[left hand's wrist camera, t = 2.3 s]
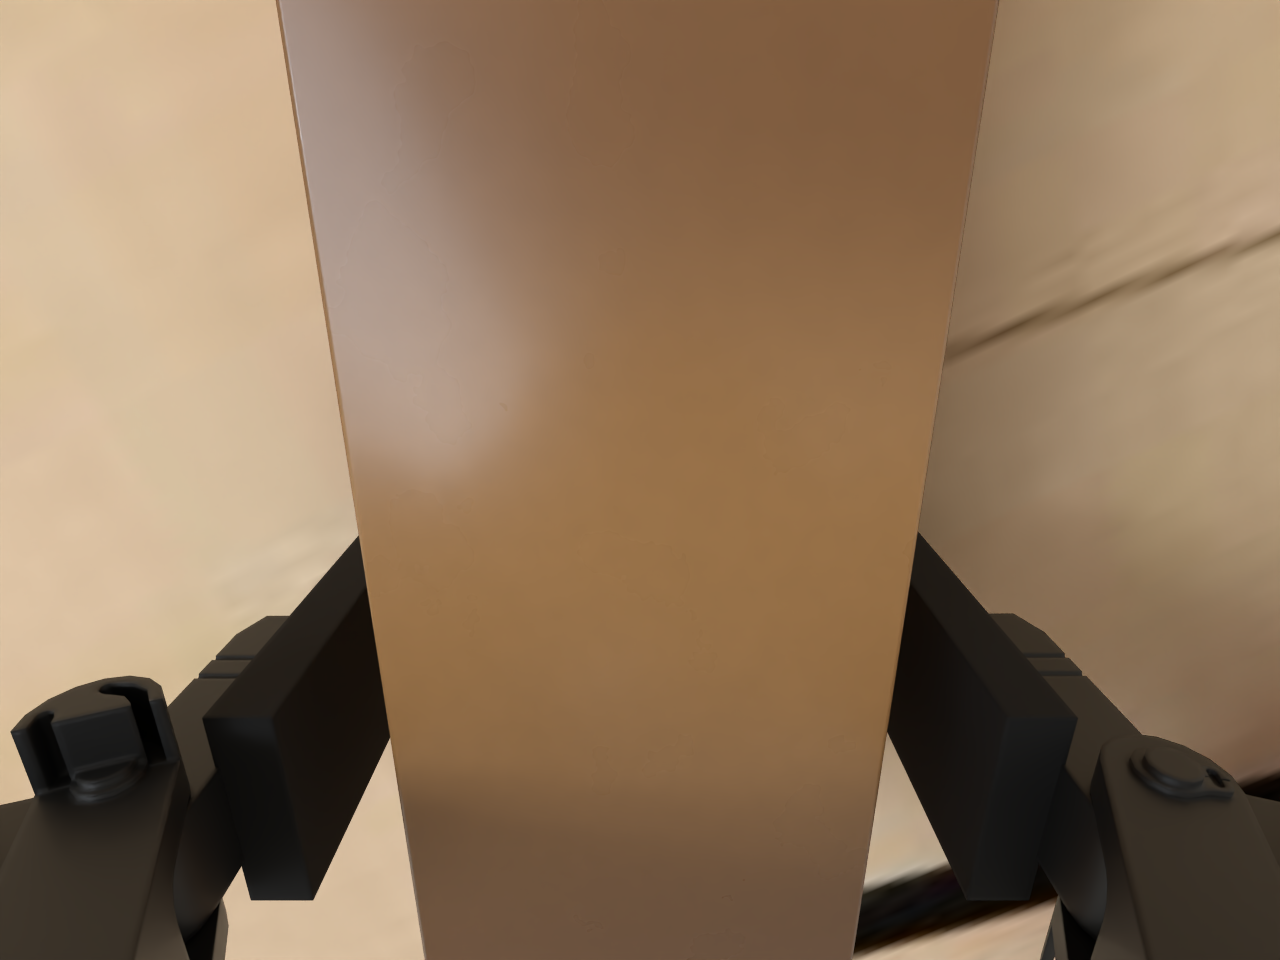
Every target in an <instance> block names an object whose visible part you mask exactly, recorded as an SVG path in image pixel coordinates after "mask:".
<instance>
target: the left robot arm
mask: <svg viewBox="0 0 1280 960" xmlns="http://www.w3.org/2000/svg"><path fill="white" fill-rule="evenodd" d="M887 732H888V734H889V737H890V739H891V741H892V743H893V745H894V747H895V749H896V751H897V754H898V756H899V758H900V760H901V762H902V764H903V766H904V768H905V770H906V773H907V775H908V777H909V779H910V781H911V783H912V785H913V787H914V790H915V792H916V794H917V796H918V798H919V800H920V802H921V804H922V806H923V809H924V811H925V813H926V815H927V817H928V819H929V821H930V823H931V826H932V828H933V830H934V832H935V834H936V836H937V838H938V840H939V842H940V845H941V847H942V849H943V851H944V853H945V855H946V857H947V859H948V862H949V864H950V866H951V868H952V870H953V872H954V874H955V876H956V878H957V881H958V883H959V885H960V887H961V889H962V891H963V893H964V895H965V898H966V900H1029V898H1030V895H1031V891H1032V887H1033V884H1034V880H1035V876H1036V872H1037V869H1038V865H1039V864H1040V866H1041V867H1042V869H1043V871H1044V872H1045V874H1046V875H1047V877H1048V879H1049V880H1050V882H1051V884H1052V885H1053V887H1054V889H1055V890H1056V892H1057V894H1058V898H1057V902H1056V905H1055V909H1054V912H1053V916H1052V919H1051V922H1050V926H1049V929H1048V933H1047V936H1046V940H1045V943H1044V947H1043V950H1042V954H1041V959H1040V960H1053V959H1054V957H1055V959H1056V960H1280V802H1277V801H1273V800H1268V799H1264V798H1259V797H1254V796H1250V795H1246V794H1245V793H1244V792H1243V790H1242V789H1241V788H1240V786H1239V785H1238V784H1237V783H1236V781H1235V780H1234V779H1233V777H1232V776H1231V775H1230V774H1228V773H1227V772H1226V771H1224V770H1223V769H1222V768H1221V767H1219V766H1218V765H1217V764H1215V763H1214V762H1213V761H1212V760H1210V759H1208V758H1207V757H1205V756H1203V755H1201V754H1199V753H1197V752H1195V751H1193V750H1191V749H1189V748H1187V747H1185V746H1183V745H1180V744H1177V743H1174V742H1171V741H1168V740H1165V739H1162V738H1159V737H1154V736H1146V735H1142V734H1141V733H1140V732H1139V731H1138V730H1137V729H1136V728H1135V727H1134V726H1133V725H1132V724H1131V723H1130V722H1129V720H1128V719H1127V718H1126V717H1125V716H1124V715H1123V714H1122V713H1121V712H1120V711H1119V710H1118V709H1117V708H1116V707H1115V706H1114V705H1113V704H1112V703H1111V702H1110V701H1109V700H1108V698H1107V697H1106V696H1105V695H1104V694H1103V693H1102V692H1101V691H1100V690H1099V689H1098V688H1097V687H1096V686H1095V685H1094V684H1093V683H1092V682H1091V681H1090V680H1089V679H1088V677H1087V676H1082V671H1081V670H1080V669H1079V668H1078V667H1077V666H1076V665H1075V664H1074V663H1073V662H1072V661H1071V660H1070V659H1069V658H1065V653H1064V652H1063V651H1062V650H1061V649H1060V648H1059V647H1058V646H1057V645H1056V644H1055V643H1054V642H1053V641H1052V640H1051V639H1050V638H1049V637H1048V636H1047V635H1046V633H1045V632H1043V631H1042V630H1040V629H1038V628H1037V627H1035V626H1033V625H1032V624H1030V623H1028V622H1027V621H1025V620H1023V619H1022V618H1020V617H1018V616H1016V615H1015V614H988V613H987V611H986V610H985V609H984V608H983V607H982V606H981V604H980V603H979V602H978V601H977V600H976V599H975V597H974V596H973V595H972V594H971V593H970V592H969V590H968V589H967V588H966V587H965V586H964V585H963V583H962V582H961V581H960V580H959V579H958V578H957V576H956V575H955V574H954V573H953V572H952V571H951V569H950V568H949V567H948V566H947V565H946V564H945V563H944V561H943V560H942V559H941V558H940V557H939V556H938V554H937V553H936V552H935V551H934V550H933V549H932V547H931V546H930V545H929V544H928V543H927V542H926V540H925V539H924V538H923V537H922V536H921V535H920V533H919V532H918V533H917V539H916V546H915V552H914V559H913V565H912V572H911V579H910V585H909V592H908V598H907V605H906V611H905V618H904V624H903V631H902V637H901V644H900V650H899V657H898V663H897V670H896V676H895V683H894V690H893V696H892V703H891V709H890V716H889V722H888V729H887ZM11 734H12V737H13V739H14V742H15V745H16V747H17V750H18V752H19V755H20V757H21V760H22V762H23V765H24V768H25V770H26V773H27V775H28V778H29V780H30V783H31V786H32V788H33V791H34V793H35V796H34V798H31V799H27V800H22V801H17V802H13V803H8V804H4V805H0V960H225V952H226V943H227V934H228V920H227V913H226V909H225V905H224V902H223V898H222V897H223V896H224V894H225V892H226V891H227V889H228V887H229V886H230V884H231V882H232V881H233V879H234V878H235V876H236V874H237V873H238V871H239V869H240V868H241V866H242V869H243V873H244V876H245V880H246V884H247V887H248V891H249V895H250V898H251V900H314V897H315V895H316V893H317V891H318V889H319V887H320V885H321V883H322V881H323V878H324V876H325V874H326V872H327V870H328V868H329V866H330V864H331V861H332V859H333V857H334V855H335V853H336V851H337V849H338V847H339V845H340V842H341V840H342V838H343V836H344V834H345V832H346V830H347V828H348V825H349V823H350V821H351V819H352V817H353V815H354V813H355V811H356V809H357V806H358V804H359V802H360V800H361V798H362V796H363V794H364V792H365V789H366V787H367V785H368V783H369V781H370V779H371V777H372V775H373V773H374V770H375V768H376V766H377V764H378V762H379V760H380V758H381V756H382V754H383V751H384V749H385V747H386V745H387V743H388V741H389V739H390V732H389V726H388V719H387V713H386V706H385V700H384V693H383V687H382V681H381V674H380V668H379V661H378V655H377V648H376V642H375V635H374V629H373V623H372V616H371V610H370V603H369V597H368V590H367V584H366V578H365V571H364V565H363V558H362V552H361V545H360V539H359V536H358V537H357V538H356V539H355V540H354V542H353V543H352V544H351V545H350V546H349V547H348V549H347V550H346V551H345V552H344V553H343V554H342V556H341V557H340V558H339V559H338V560H337V561H336V562H335V564H334V565H333V566H332V567H331V568H330V569H329V571H328V572H327V573H326V574H325V575H324V576H323V578H322V579H321V580H320V581H319V582H318V583H317V585H316V586H315V587H314V588H313V589H312V590H311V592H310V593H309V594H308V595H307V596H306V597H305V599H304V600H303V601H302V602H301V603H300V604H299V606H298V607H297V608H296V609H295V610H294V611H293V613H292V614H291V615H290V616H266V617H264V618H263V619H261V620H260V621H258V622H256V623H255V624H253V625H251V626H250V627H248V628H246V629H245V630H243V631H241V632H240V633H238V634H236V635H235V636H234V637H233V639H232V640H231V641H230V642H229V643H228V644H227V645H226V646H225V647H224V648H223V649H222V650H221V651H220V652H219V653H218V654H217V655H216V660H212V661H211V662H210V663H209V664H208V665H207V666H206V667H205V668H204V669H203V670H202V671H201V672H200V673H199V678H198V679H194V680H193V681H192V682H191V683H190V684H189V685H188V686H187V687H186V688H185V689H184V690H183V691H182V692H181V693H180V694H179V696H178V697H177V698H176V699H175V700H174V701H173V702H172V703H171V704H170V705H169V706H168V707H167V704H166V701H165V698H164V694H163V691H162V687H161V686H160V685H159V684H157V683H156V682H155V681H153V680H152V679H150V678H144V677H136V676H124V677H115V678H107V679H102V680H98V681H95V682H91V683H88V684H85V685H81V686H78V687H75V688H73V689H70V690H68V691H66V692H64V693H62V694H59V695H57V696H55V697H53V698H51V699H48V700H47V701H45V702H44V703H42V704H41V705H39V706H38V707H36V708H35V709H34V710H32V711H31V712H29V713H28V714H26V715H25V716H24V717H23V718H22V719H21V720H20V721H19V723H18V724H17V725H16V726H15V727H14V728H13V729H12V730H11Z"/></svg>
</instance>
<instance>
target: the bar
mask: <svg viewBox="0 0 1280 960" xmlns="http://www.w3.org/2000/svg"><path fill="white" fill-rule="evenodd" d="M998 4H999V0H276V5H277V11H278V18H279V24H280V31H281V37H282V43H283V50H284V56H285V63H286V69H287V76H288V82H289V88H290V95H291V101H292V108H293V114H294V121H295V127H296V134H297V140H298V146H299V153H300V159H301V166H302V172H303V179H304V185H305V191H306V198H307V204H308V211H309V217H310V224H311V230H312V236H313V243H314V249H315V256H316V262H317V269H318V275H319V282H320V288H321V294H322V301H323V307H324V314H325V320H326V327H327V333H328V339H329V346H330V352H331V359H332V365H333V372H334V378H335V385H336V391H337V397H338V404H339V410H340V417H341V423H342V430H343V436H344V442H345V449H346V455H347V462H348V468H349V475H350V481H351V487H352V494H353V500H354V507H355V513H356V520H357V526H358V533H359V539H360V545H361V552H362V558H363V565H364V571H365V578H366V584H367V590H368V597H369V603H370V610H371V616H372V623H373V629H374V635H375V642H376V648H377V655H378V661H379V668H380V674H381V681H382V687H383V693H384V700H385V706H386V713H387V719H388V726H389V732H390V738H391V745H392V751H393V758H394V764H395V771H396V777H397V783H398V790H399V796H400V803H401V809H402V816H403V822H404V829H405V835H406V841H407V848H408V854H409V861H410V867H411V874H412V880H413V886H414V893H415V899H416V906H417V912H418V919H419V925H420V931H421V938H422V944H423V951H424V957H425V960H852V957H853V951H854V944H855V938H856V931H857V925H858V918H859V911H860V905H861V898H862V892H863V885H864V879H865V872H866V866H867V859H868V853H869V846H870V840H871V833H872V827H873V820H874V814H875V807H876V801H877V794H878V787H879V781H880V774H881V768H882V761H883V755H884V748H885V742H886V735H887V729H888V722H889V716H890V709H891V703H892V696H893V690H894V683H895V676H896V670H897V663H898V657H899V650H900V644H901V637H902V631H903V624H904V618H905V611H906V605H907V598H908V592H909V585H910V579H911V572H912V565H913V559H914V552H915V546H916V539H917V533H918V526H919V520H920V513H921V507H922V500H923V494H924V487H925V481H926V474H927V468H928V461H929V455H930V448H931V441H932V435H933V428H934V422H935V415H936V409H937V402H938V396H939V389H940V383H941V376H942V370H943V363H944V357H945V350H946V344H947V337H948V330H949V324H950V317H951V311H952V304H953V298H954V291H955V285H956V278H957V272H958V265H959V259H960V252H961V246H962V239H963V233H964V226H965V220H966V213H967V206H968V200H969V193H970V187H971V180H972V174H973V167H974V161H975V154H976V148H977V141H978V135H979V128H980V122H981V115H982V109H983V102H984V95H985V89H986V82H987V76H988V69H989V63H990V56H991V50H992V43H993V37H994V30H995V24H996V17H997V11H998Z"/></svg>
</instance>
